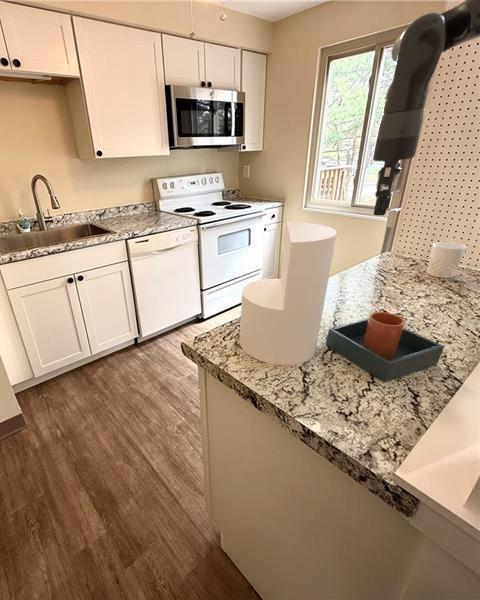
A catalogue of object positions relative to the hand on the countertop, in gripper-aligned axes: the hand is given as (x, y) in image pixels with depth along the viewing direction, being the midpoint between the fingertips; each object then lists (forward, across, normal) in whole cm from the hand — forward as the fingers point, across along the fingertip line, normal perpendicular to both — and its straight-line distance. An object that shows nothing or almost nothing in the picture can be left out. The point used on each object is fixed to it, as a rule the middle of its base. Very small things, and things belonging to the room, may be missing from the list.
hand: (381, 211), depth 74 cm
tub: (+28, -18, -6) cm, 34 cm away
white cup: (+27, +41, -17) cm, 53 cm away
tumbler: (+27, -18, -6) cm, 34 cm away
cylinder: (+28, -26, +14) cm, 40 cm away
